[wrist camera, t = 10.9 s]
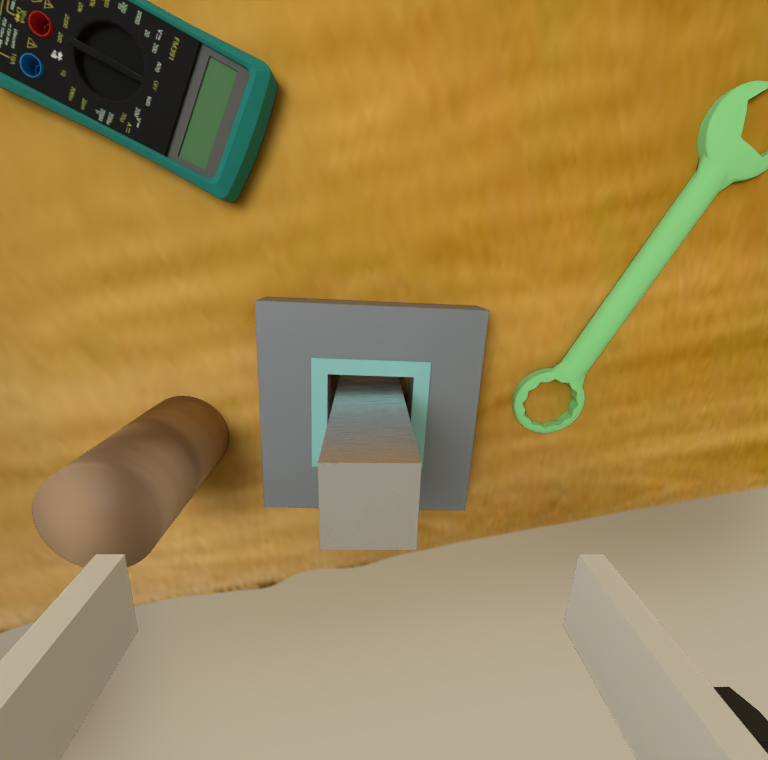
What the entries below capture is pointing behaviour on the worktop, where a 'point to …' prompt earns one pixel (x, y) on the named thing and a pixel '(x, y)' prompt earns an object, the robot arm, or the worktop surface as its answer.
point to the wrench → (656, 247)
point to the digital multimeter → (142, 83)
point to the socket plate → (367, 358)
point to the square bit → (369, 468)
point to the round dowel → (131, 483)
